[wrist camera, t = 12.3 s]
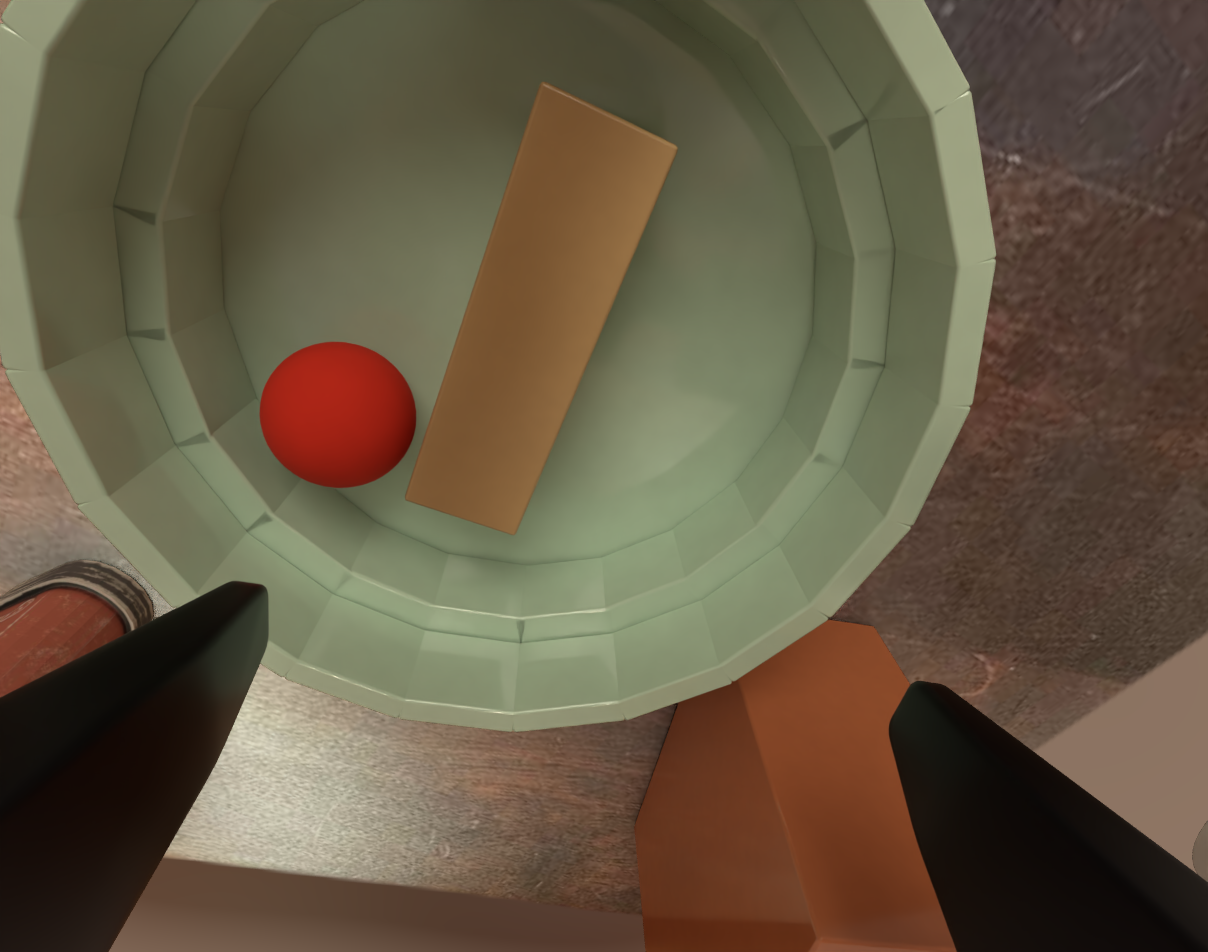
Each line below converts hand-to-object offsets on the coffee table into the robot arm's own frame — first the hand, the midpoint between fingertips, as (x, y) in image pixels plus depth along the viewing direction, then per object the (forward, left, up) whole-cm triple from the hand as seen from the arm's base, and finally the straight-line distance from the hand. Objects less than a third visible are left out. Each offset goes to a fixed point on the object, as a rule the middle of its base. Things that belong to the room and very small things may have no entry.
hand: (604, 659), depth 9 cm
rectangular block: (-7, +9, -8) cm, 14 cm away
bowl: (+2, -3, -8) cm, 9 cm away
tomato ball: (+5, 0, -6) cm, 8 cm away
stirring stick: (+2, -3, -8) cm, 8 cm away
